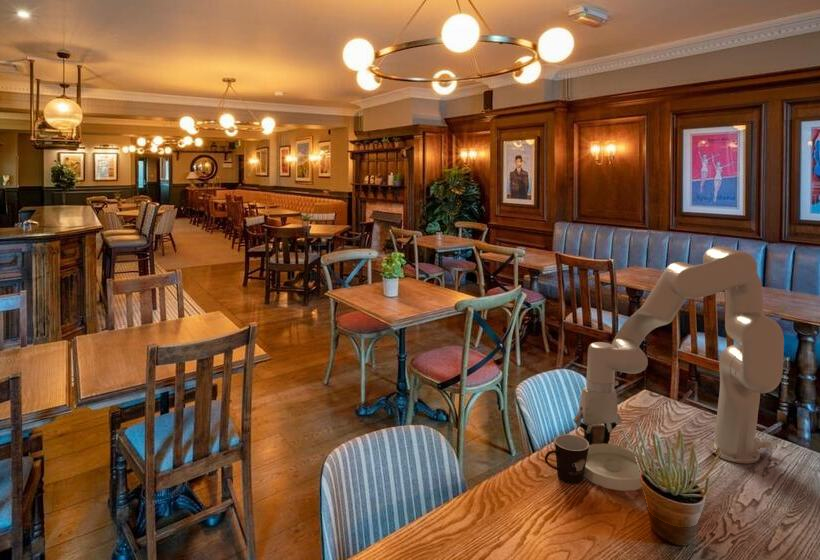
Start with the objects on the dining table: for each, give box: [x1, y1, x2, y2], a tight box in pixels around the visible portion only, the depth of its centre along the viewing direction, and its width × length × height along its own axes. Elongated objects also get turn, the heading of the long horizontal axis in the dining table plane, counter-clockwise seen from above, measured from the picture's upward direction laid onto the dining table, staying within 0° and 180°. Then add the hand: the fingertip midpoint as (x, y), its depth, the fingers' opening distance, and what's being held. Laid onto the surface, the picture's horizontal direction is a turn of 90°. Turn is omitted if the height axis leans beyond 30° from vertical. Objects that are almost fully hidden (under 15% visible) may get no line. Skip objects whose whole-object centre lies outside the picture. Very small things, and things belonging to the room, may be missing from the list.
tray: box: [583, 443, 642, 492], centre depth 136 cm, size 18×18×3 cm
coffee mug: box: [544, 433, 589, 485], centre depth 133 cm, size 12×9×10 cm
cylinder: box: [591, 424, 605, 444], centre depth 149 cm, size 4×4×6 cm
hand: (596, 442), depth 150 cm, fingers open, 4 cm apart
